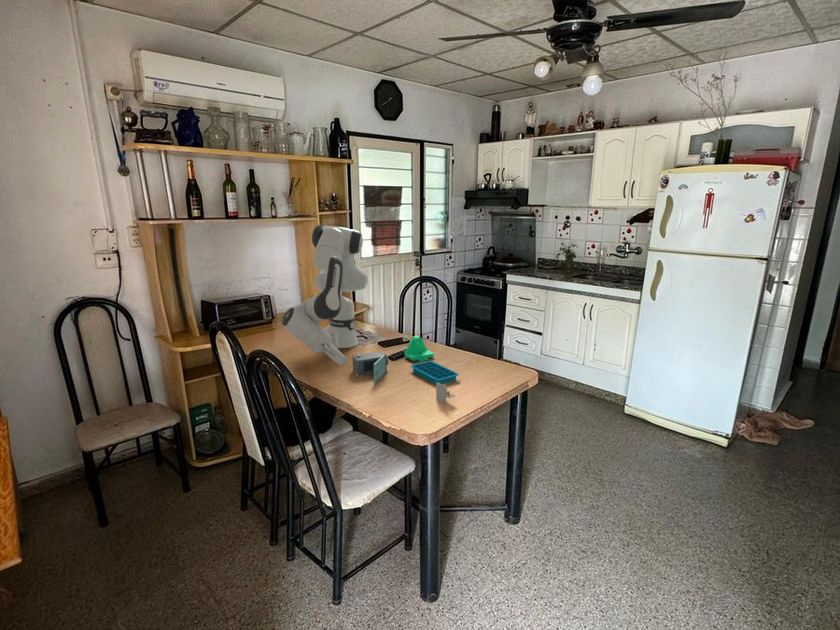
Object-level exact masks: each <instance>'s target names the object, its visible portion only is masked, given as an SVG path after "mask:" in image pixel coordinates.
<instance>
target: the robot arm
mask: <svg viewBox="0 0 840 630" xmlns="http://www.w3.org/2000/svg"><path fill="white" fill-rule="evenodd" d="M311 243H312V245H313V246H314V248H315V251H314V253H313V264H314V266H315V268H316V270H318V271H319V272H318V273H317V274H316V277H315V282H314V283H315V285H316V287H317V288H318V290H319V291H320V292H319V294H317V295H315V296H312V297H310V298H307V299H305V300H304V301H303V302H301V303H300V304H299V305H296V306H294V307H290V308H289V309H287V311H286V312H284V315H283V317H282V320H281V322H282V325H283V328H284V329H285V330H286V331H287V332H288V333H290V334H291V336H293V337H294V338H295V339H296V340H299V341H301V342H302V343H303V344H304V345H305V347H307V348H308V349H310V350H311V351H312V352H313V353H315V354H318V353H321V354H323V353H324V354H326V356H328V358H329V359H331V360H332V361H333V362H334V363H336V364H337V365H338V366H342V365H343V364H344V365H346V364H347V363H348V362H349V361H348V359H347V357H346V356H345V354H343V353H342V352H341V351H340V350H339V349H348V348H354V347H356V346H358V344H359V341H358V338H357V334H356V317H355V305H354V302H353V300H352V299H350V298H349V297H345V296H344V295H342V294H341V293H342V292H357V291H360V290H364V289H366V287H367V285H368V283H369V279H368V275H367V273H366V272H365V270H363V269H361V268H359V267H358V266H357V265H356V263H355V257H354V256H355V255H356V254H358V253H360V252H361V250H362V247H363V244H364V239H363V234H362V233H361V232H360V231H359V230H356V229H350V228H347V227H342V226H335V225H325V224H319V225H318V224H317V226H315V227H314V228H313V231H312V233H311ZM326 320H327V322H330V323H329V325H327V326H326V327H325V328H323V327H321V326H320V324H321V322H323V321H326Z"/></svg>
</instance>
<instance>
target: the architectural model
mask: <svg viewBox="0 0 840 630" xmlns="http://www.w3.org/2000/svg"><path fill="white" fill-rule="evenodd" d="M446 385H447V383H445V384H440V383H438V382H437V383H436V384H435V386H436V387H435V388H436V390H435V391H436V392H435V393H436V394H435V395H436V396H435V400H436V401H438V402H440V403H441V404H443V405H445V406H446V405H447V399H451V398H452V399H453V398H455V397H456V395H455V394H453V393H451V392H450V390H448V387H447V386H446Z"/></svg>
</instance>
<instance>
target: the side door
mask: <svg viewBox="0 0 840 630" xmlns="http://www.w3.org/2000/svg"><path fill="white" fill-rule="evenodd" d="M383 354H384V355H383V356H382V357H381V358H380V359H379V360H378V361H377V362H375V363H374V374H373V383H374V384H376V383H377V382H378V381H380V379H381V378H382V377H383V376H384V375H385V374H387V371H386V356H387V354H386V353H383Z"/></svg>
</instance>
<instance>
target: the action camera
mask: <svg viewBox="0 0 840 630" xmlns="http://www.w3.org/2000/svg"><path fill="white" fill-rule="evenodd" d="M384 354H385V353H383V352H381V351H375V352H369V353H361V354H355V355H352V357H351V358H352V359H351V360H352V372H353V371H354V372H355V373H356V374H357V375H358V376H357V375H356V374H355V373H354V372H353V373H354V374H355V375H356V376H357V377H363V376H368V374H369V375H374V363H375V362H377V361H378V360H379V359H380V358H381V357H382V356H383V355H384ZM388 365H389V358H388V355H386V372H387V367H388ZM362 375H363V376H362Z"/></svg>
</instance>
